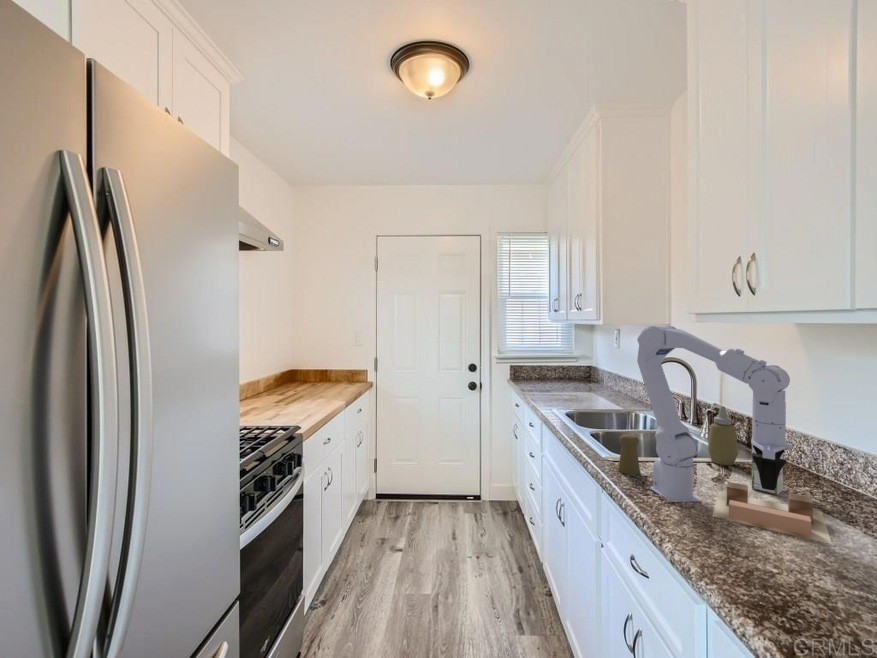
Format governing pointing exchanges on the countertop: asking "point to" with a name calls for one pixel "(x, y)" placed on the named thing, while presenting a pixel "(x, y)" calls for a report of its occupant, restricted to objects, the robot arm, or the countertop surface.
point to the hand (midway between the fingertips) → (768, 483)
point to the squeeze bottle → (722, 440)
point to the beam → (770, 517)
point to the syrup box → (756, 479)
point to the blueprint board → (795, 505)
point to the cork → (629, 455)
